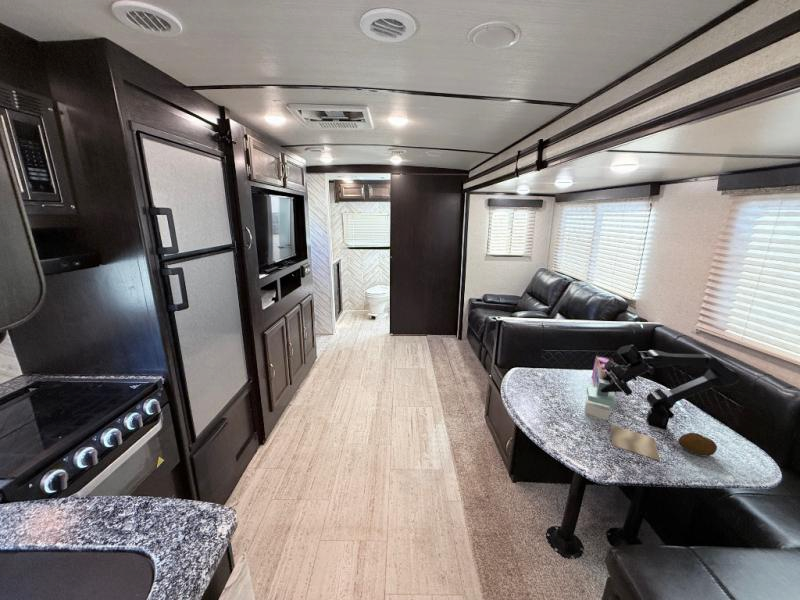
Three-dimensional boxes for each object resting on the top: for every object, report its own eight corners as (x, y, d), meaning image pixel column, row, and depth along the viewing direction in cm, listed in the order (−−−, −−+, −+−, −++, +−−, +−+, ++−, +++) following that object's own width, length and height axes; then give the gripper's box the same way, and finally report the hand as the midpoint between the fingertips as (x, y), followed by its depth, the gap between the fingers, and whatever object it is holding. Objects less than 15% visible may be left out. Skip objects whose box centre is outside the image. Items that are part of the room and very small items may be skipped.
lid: (613, 396, 144) (617, 379, 142) (616, 407, 135) (620, 390, 133) (586, 390, 149) (590, 373, 147) (588, 400, 140) (591, 383, 138)
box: (607, 410, 147) (609, 401, 146) (607, 420, 140) (609, 411, 139) (585, 404, 152) (587, 395, 150) (584, 413, 144) (586, 404, 143)
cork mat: (653, 439, 128) (654, 438, 128) (659, 461, 116) (660, 460, 116) (610, 425, 136) (610, 424, 136) (611, 445, 123) (612, 444, 123)
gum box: (615, 400, 156) (621, 376, 153) (597, 396, 159) (602, 372, 156) (607, 379, 177) (612, 357, 174) (591, 376, 180) (595, 354, 177)
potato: (720, 461, 117) (726, 443, 116) (686, 459, 118) (692, 441, 116) (701, 446, 125) (707, 429, 123) (669, 444, 126) (674, 427, 124)
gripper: (612, 348, 145) (582, 366, 150) (629, 365, 127) (593, 385, 133) (628, 366, 145) (597, 384, 150) (647, 386, 127) (611, 405, 133)
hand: (599, 388), depth 141 cm, fingers closed on lid, 5 cm apart
